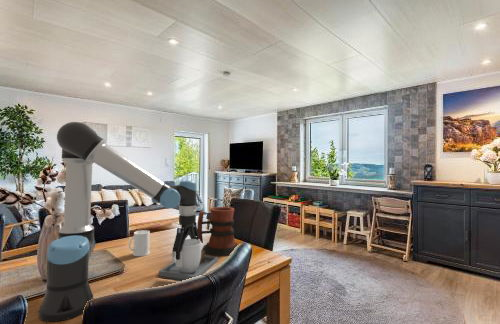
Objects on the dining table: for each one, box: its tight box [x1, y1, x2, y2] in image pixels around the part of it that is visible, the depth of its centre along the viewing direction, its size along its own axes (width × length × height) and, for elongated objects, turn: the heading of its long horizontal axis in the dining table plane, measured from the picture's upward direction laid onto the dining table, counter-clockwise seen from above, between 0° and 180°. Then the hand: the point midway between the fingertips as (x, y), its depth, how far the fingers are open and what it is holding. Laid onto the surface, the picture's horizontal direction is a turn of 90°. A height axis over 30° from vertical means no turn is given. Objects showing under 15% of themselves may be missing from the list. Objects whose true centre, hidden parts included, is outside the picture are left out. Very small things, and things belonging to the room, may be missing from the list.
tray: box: [158, 255, 219, 282], centre depth 123 cm, size 24×18×3 cm
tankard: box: [196, 206, 239, 257], centre depth 149 cm, size 22×25×25 cm
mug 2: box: [171, 238, 202, 274], centre depth 119 cm, size 15×11×13 cm
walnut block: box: [200, 249, 206, 264], centre depth 130 cm, size 5×5×5 cm
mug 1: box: [128, 229, 151, 257], centre depth 142 cm, size 12×8×12 cm
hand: (186, 260), depth 119 cm, fingers open, 13 cm apart
